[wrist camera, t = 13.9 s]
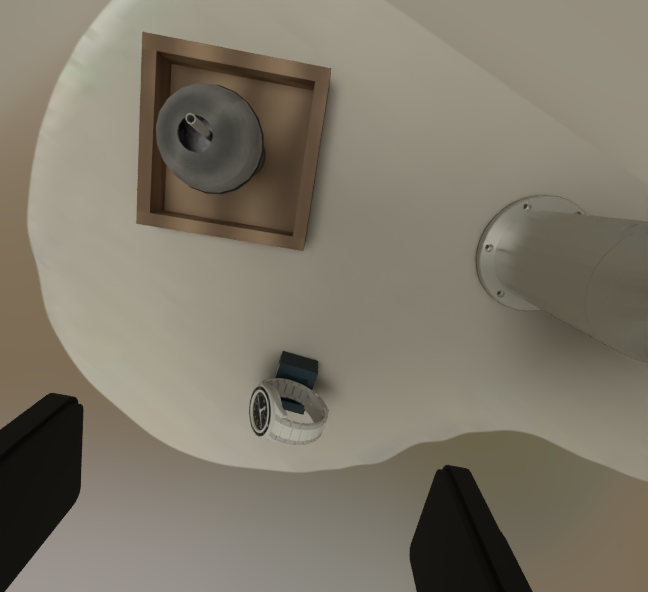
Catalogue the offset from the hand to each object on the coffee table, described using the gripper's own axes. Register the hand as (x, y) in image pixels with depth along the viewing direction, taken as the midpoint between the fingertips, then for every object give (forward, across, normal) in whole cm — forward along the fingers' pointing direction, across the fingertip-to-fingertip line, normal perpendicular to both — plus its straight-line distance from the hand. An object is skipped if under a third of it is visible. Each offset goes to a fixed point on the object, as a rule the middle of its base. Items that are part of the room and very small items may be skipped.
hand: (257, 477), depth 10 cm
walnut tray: (+33, +9, -9) cm, 35 cm away
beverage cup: (+32, +8, -9) cm, 34 cm away
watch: (+33, -1, +15) cm, 36 cm away
